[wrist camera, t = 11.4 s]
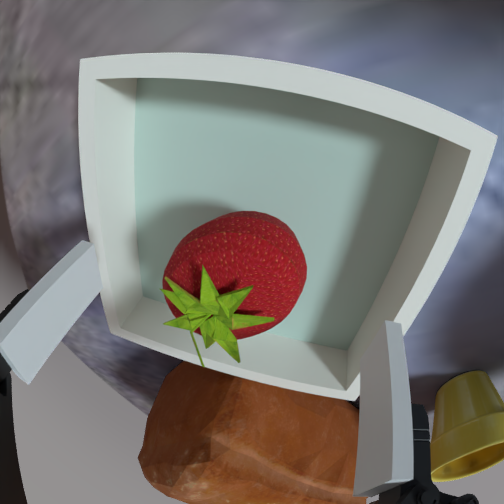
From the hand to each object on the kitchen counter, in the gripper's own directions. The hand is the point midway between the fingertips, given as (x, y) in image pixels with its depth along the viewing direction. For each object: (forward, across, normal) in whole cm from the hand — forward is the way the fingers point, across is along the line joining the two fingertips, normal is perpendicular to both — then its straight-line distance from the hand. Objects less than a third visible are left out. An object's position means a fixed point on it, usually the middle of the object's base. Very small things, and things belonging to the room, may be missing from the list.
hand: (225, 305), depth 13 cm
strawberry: (+8, 0, -1) cm, 8 cm away
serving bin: (+8, 0, -1) cm, 8 cm away
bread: (+8, +6, -23) cm, 25 cm away
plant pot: (+8, +25, -14) cm, 30 cm away
